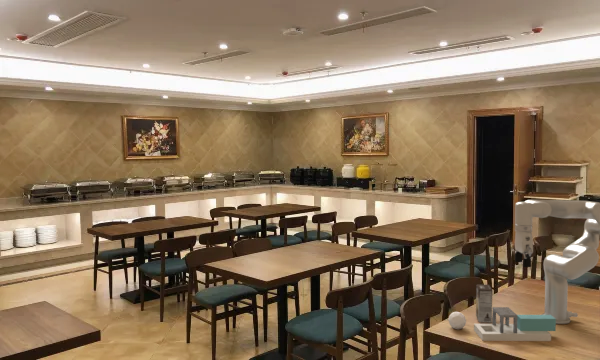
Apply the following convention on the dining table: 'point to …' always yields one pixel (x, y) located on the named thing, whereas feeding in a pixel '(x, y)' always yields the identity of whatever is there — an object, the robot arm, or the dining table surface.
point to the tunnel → (505, 313)
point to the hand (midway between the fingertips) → (522, 264)
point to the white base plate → (509, 333)
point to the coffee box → (484, 303)
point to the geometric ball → (457, 320)
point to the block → (536, 323)
